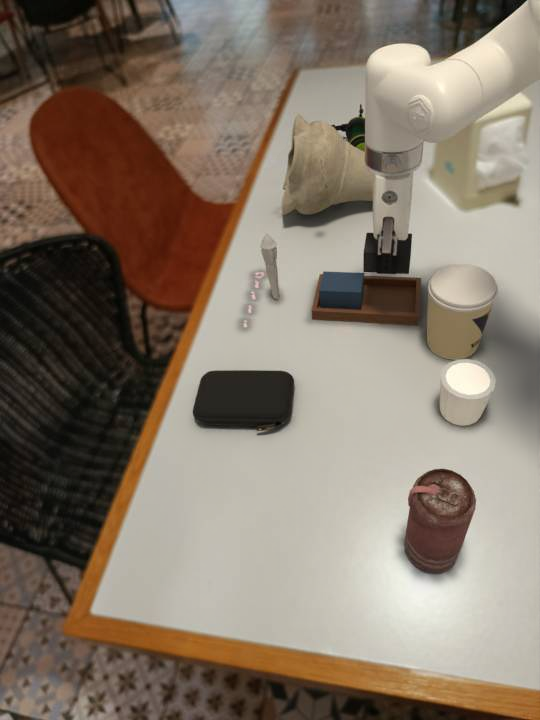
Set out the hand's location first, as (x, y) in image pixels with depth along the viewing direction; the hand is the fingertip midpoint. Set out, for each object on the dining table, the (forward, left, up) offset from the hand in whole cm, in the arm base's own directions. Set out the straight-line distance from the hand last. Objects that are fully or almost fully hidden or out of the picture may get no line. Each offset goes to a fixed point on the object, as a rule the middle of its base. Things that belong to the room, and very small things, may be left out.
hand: (387, 260), depth 83 cm
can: (-8, +42, -10) cm, 44 cm away
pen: (+19, 0, -10) cm, 21 cm away
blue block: (+7, 0, -9) cm, 11 cm away
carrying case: (+19, +24, -10) cm, 32 cm away
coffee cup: (-11, +8, -10) cm, 17 cm away
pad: (0, 0, -1) cm, 1 cm away
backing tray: (+3, 0, -9) cm, 10 cm away
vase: (+10, -29, -10) cm, 32 cm away
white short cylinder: (-12, +21, -10) cm, 26 cm away
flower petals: (+24, 0, -10) cm, 26 cm away
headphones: (+10, -52, -10) cm, 54 cm away
